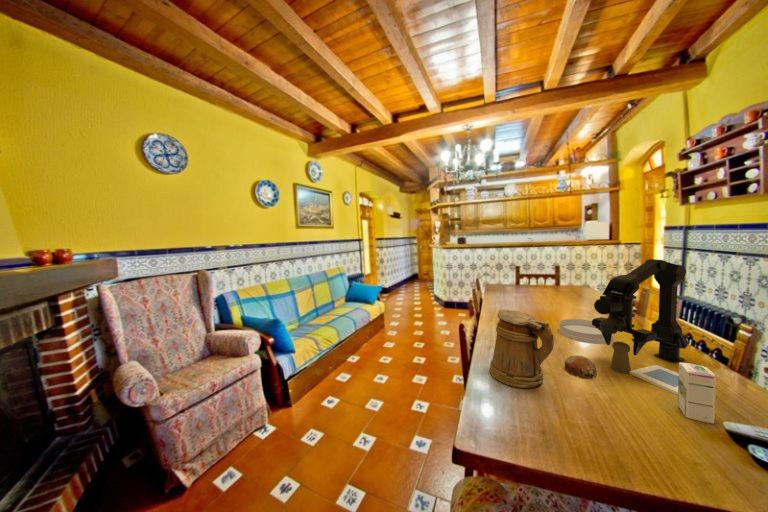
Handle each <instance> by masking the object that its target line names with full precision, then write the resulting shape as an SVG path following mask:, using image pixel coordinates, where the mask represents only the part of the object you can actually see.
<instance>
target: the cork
mask: <svg viewBox="0 0 768 512" xmlns="http://www.w3.org/2000/svg"><path fill="white" fill-rule="evenodd" d="M611 347H612V350H613V353H612V358H611V363H610V365H609V366H610V367H609V368H610V369H611V371H614V372H616V373H619V374H622V375H630V374H629V371H632V369H631V364H630V363H631V361H630V357H629V356H630V355H629V352H630V351H631V346H630V345H629V344H628V343H627V342H623V341H614V342H612V344H611Z"/></svg>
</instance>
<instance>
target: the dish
mask: <svg viewBox="0 0 768 512" xmlns="http://www.w3.org/2000/svg"><path fill="white" fill-rule="evenodd" d="M558 327H559V328H558V332H559V334H560V335H561V336H563V337H564V338H567V339H569V340H573V341H576V342H580V343H585V344H594V345H604V344H606V342H605V339H604V337H603V335H602V333H601V331H600V330H598V329H597V328H595V326H593V325H592V320H589V319H581V318H568V319H562V320H560V321H559V326H558ZM613 340H614V334H612V336H611V342H610V343H613ZM606 345H607V344H606Z"/></svg>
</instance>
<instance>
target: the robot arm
mask: <svg viewBox="0 0 768 512" xmlns="http://www.w3.org/2000/svg"><path fill="white" fill-rule="evenodd" d="M686 275H687V269H686V268H685V267H684V266H683V265H682V264H675V263H672V262H668V261H667V260H663V259H656V258H655V259H653V258H649V259H646V260H645V262H644V263H642V264H641V265H639V266H638V267H635V269H633V270H631V271H630V272H629V273H626V274H620V275H618V276H614V277H612V278H611V279H610V280H609V281H608V283H607V284H606V286H605V289H604V290H603V292H602V295H600V296H599V299H597V300H595V301H594V303H593V307H594V309H595V311H596V312H597V313H598V314H600V315H608V317H603V316H600V317H595V318H593V319H591V321H592V325H593V326H595V328H597V329H598V330H600V331H601V333H602V335H603V337H604V339H605V342H606V345H607V346H610V345H611V343H612V342H611V336H612V334H613V335H615V334H617V333H618V332H620V333H623V332H624V333H626V334H631V336H632V338H631V341H632V342H633V349H632V351H633V352H632V353H633V356H637V355H638V354H639V352H640V351H641V350H642V349H643V347H644V346H645V345H646V344H647V343H649V342H653V341H654V342H658V344H659V345H658V346H659V347H658V353H655V354H653V355H654V356H655V357H656V358H660V359H663V360H666V361H669V362H671V363H679V362H681V361H685V358H683V357H680V356H681V355H680V352H681V351H680V350H681V349H684V350H685V349H687V347H688V345H689V341H688V339H687V337H685V336H684V334H683V329H682V327H681V325H680V324H679V323H678V321H677V312H678V311H677V310H678V307H677V306H678V287H679V286H680V284H682V283H683V282H684V280H685V276H686ZM652 276H653V278H654V280H655V281H656V283H657V284H658V285H659V294H658V317H657V320H655V322H653V323H651V326H650V327H651V329H650V330H649V329H645V328H641V329H640V328H639V329H634V328H635V324H633V318H635V317H636V315H635V313H633V303H634V302H633V301H634V300H636V299H637V296H636V295H634V294H635V293H637V292H638V291H639V290H640V289H641V287H640V285H641V284H642V283H643V282H645V281H646V280H647V279H649V278H651V277H652Z"/></svg>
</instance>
